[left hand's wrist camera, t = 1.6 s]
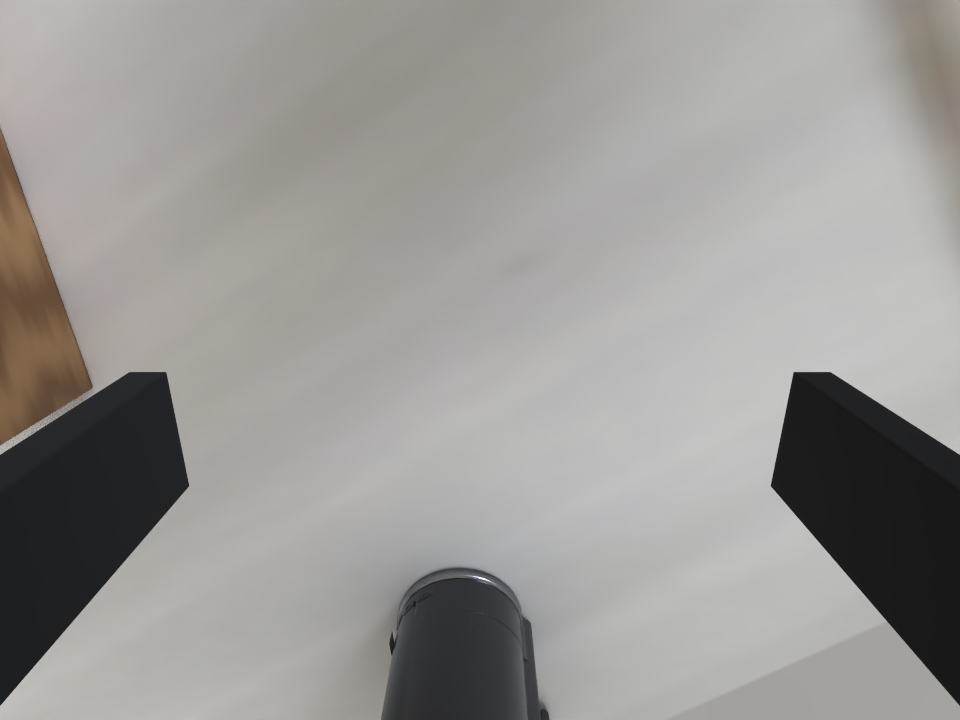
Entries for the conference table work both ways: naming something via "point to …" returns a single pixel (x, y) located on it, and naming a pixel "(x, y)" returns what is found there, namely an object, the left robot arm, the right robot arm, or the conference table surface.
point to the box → (30, 320)
